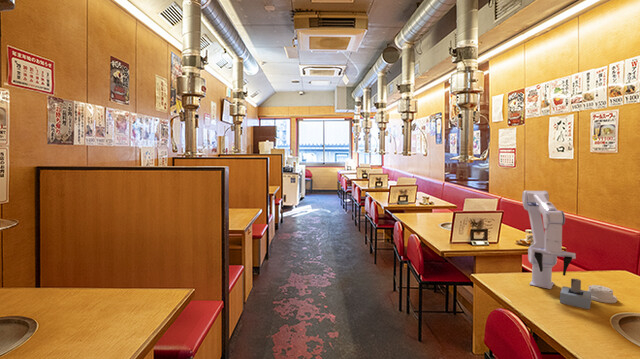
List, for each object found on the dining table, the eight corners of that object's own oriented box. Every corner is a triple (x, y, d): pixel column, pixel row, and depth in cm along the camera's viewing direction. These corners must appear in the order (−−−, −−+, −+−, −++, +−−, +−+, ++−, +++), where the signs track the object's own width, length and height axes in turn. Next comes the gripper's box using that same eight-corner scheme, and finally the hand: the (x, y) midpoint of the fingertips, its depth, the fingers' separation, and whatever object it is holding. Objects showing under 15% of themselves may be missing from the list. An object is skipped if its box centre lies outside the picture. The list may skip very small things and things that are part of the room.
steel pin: (571, 300, 129) (571, 277, 129) (580, 302, 127) (581, 279, 127) (569, 302, 127) (570, 279, 127) (579, 304, 125) (580, 281, 125)
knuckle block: (562, 295, 134) (562, 286, 134) (591, 301, 128) (591, 291, 128) (559, 302, 127) (560, 292, 127) (589, 309, 121) (590, 299, 121)
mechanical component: (585, 291, 138) (583, 299, 131) (585, 281, 138) (583, 288, 131) (616, 298, 132) (616, 306, 124) (617, 287, 131) (617, 294, 124)
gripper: (530, 239, 134) (530, 271, 135) (575, 244, 125) (574, 279, 125) (533, 236, 140) (532, 267, 140) (576, 241, 130) (575, 274, 131)
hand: (552, 273), depth 133 cm, fingers open, 7 cm apart
